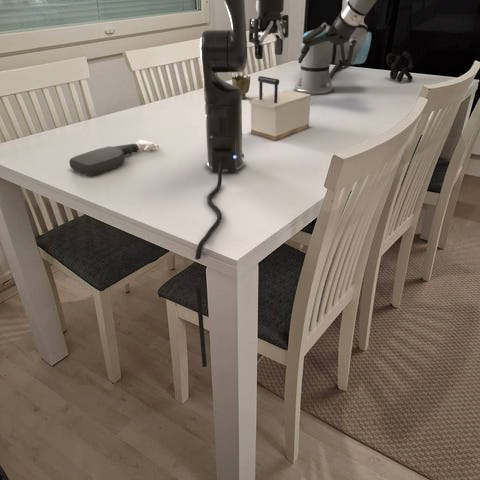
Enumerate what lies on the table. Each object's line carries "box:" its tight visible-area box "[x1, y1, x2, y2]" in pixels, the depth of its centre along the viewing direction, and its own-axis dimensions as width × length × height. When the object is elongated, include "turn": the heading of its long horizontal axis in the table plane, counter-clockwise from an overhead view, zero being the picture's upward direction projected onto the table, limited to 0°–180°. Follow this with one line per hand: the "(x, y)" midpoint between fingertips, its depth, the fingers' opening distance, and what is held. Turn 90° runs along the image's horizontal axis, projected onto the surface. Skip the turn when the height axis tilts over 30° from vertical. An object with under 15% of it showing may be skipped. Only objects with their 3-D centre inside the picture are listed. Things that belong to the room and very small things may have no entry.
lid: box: [248, 75, 312, 109], centre depth 137 cm, size 18×10×8 cm, turn 136°
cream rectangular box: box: [250, 96, 312, 141], centre depth 142 cm, size 17×10×10 cm, turn 136°
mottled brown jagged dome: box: [231, 74, 252, 99], centre depth 177 cm, size 8×7×8 cm
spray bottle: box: [68, 139, 160, 177], centre depth 124 cm, size 3×11×24 cm
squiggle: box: [385, 51, 414, 83], centre depth 198 cm, size 11×10×15 cm
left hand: (268, 56), depth 128 cm, fingers open, 8 cm apart
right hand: (315, 68), depth 167 cm, fingers open, 13 cm apart
